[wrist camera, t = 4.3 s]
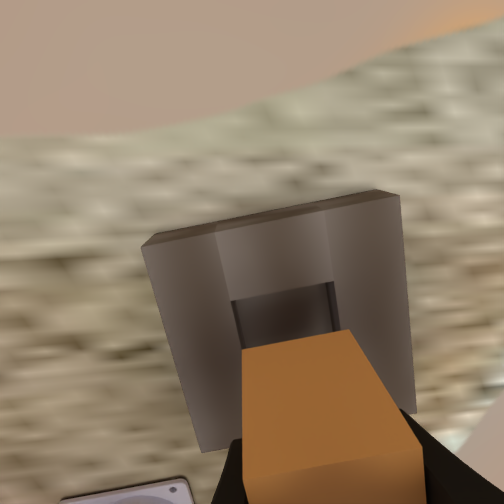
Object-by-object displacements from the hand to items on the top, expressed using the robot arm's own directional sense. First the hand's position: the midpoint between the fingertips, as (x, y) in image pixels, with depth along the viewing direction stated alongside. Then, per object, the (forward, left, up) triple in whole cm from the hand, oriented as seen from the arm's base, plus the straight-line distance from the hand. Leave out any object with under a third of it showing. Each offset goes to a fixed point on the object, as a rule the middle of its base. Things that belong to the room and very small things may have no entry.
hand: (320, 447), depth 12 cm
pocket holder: (0, 0, -10) cm, 10 cm away
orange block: (0, 0, -3) cm, 3 cm away
